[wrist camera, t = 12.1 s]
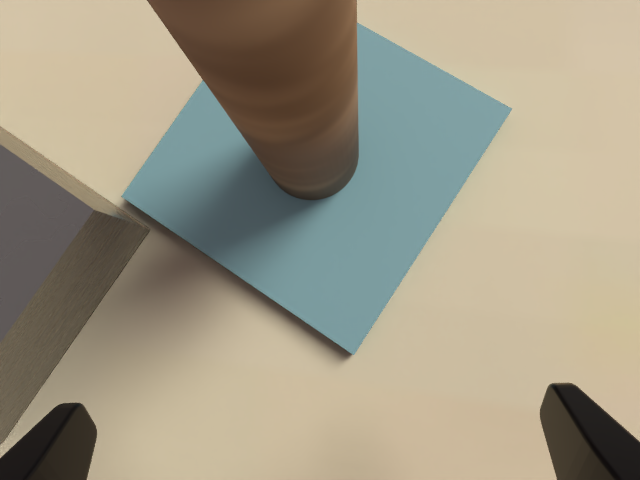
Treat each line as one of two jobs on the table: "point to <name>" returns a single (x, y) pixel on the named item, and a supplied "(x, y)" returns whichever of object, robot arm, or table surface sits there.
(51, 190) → the block
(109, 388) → the table surface
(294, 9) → the brown wooden pin
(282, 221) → the blue square plate
